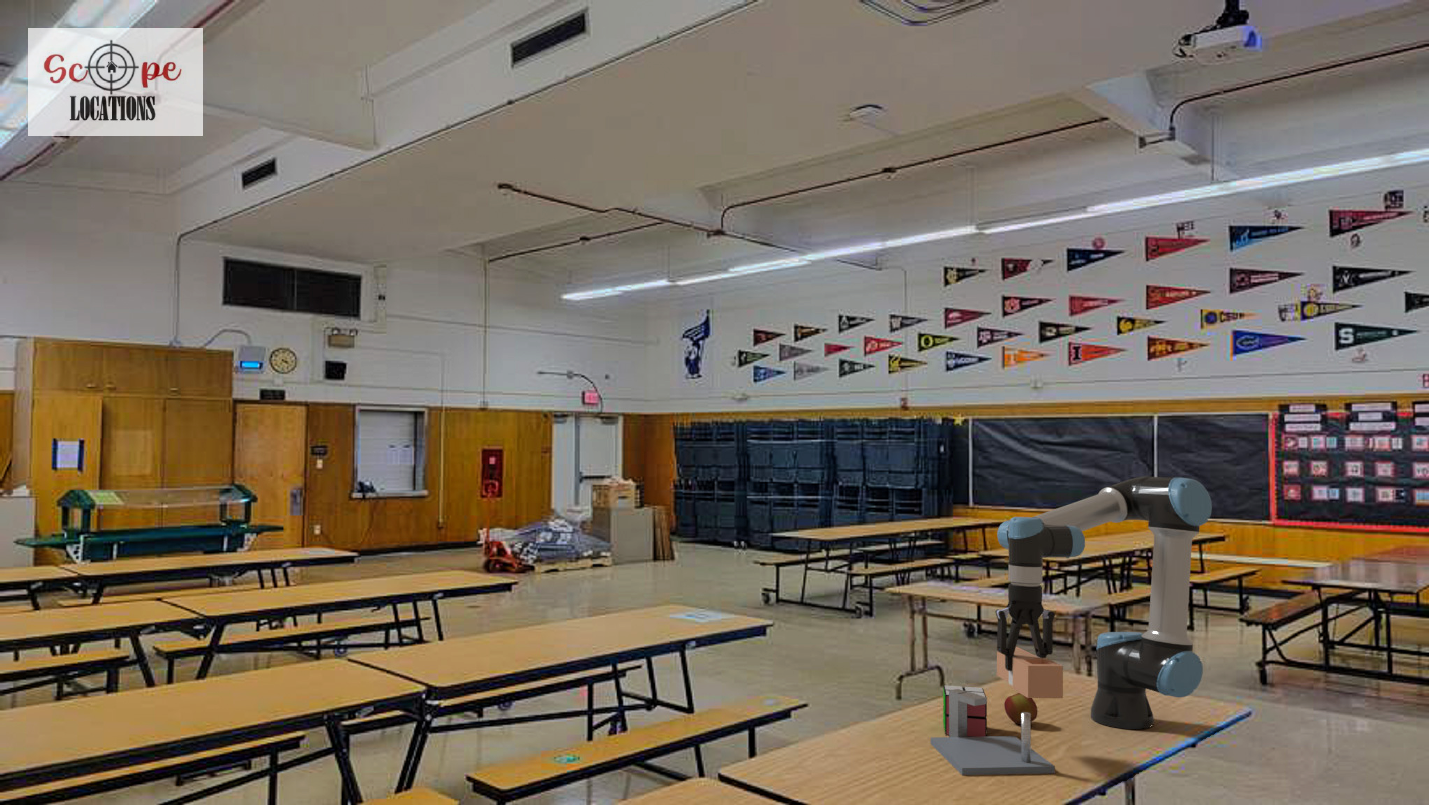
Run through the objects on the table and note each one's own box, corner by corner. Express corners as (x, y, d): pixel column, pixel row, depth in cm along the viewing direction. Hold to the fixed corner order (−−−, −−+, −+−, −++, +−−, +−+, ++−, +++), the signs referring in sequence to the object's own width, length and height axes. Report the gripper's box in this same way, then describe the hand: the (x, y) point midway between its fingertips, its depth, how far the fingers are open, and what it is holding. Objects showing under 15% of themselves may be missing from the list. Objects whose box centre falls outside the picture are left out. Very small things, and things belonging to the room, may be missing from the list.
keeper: (959, 738, 221) (959, 688, 222) (987, 749, 213) (986, 697, 214) (947, 740, 219) (947, 690, 220) (974, 751, 212) (974, 699, 212)
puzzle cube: (987, 739, 221) (986, 697, 222) (945, 736, 223) (945, 695, 224) (983, 726, 231) (983, 687, 232) (943, 724, 233) (943, 684, 234)
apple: (1023, 718, 239) (1023, 687, 239) (1043, 727, 231) (1043, 695, 231) (998, 720, 236) (998, 689, 237) (1018, 730, 229) (1018, 698, 229)
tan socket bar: (990, 675, 218) (991, 646, 219) (1022, 675, 219) (1022, 646, 219) (1027, 698, 198) (1028, 665, 198) (1062, 698, 199) (1062, 666, 199)
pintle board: (1014, 742, 219) (1014, 736, 219) (1054, 773, 198) (1054, 766, 198) (930, 743, 217) (930, 737, 217) (962, 775, 196) (962, 768, 196)
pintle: (1028, 766, 202) (1028, 712, 202) (1032, 769, 200) (1031, 714, 200) (1019, 766, 202) (1019, 712, 202) (1023, 769, 200) (1023, 714, 200)
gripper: (1054, 582, 215) (1054, 681, 213) (981, 580, 213) (980, 680, 212) (1070, 586, 207) (1069, 689, 206) (994, 585, 206) (993, 689, 204)
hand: (1024, 684), depth 209 cm, fingers closed on tan socket bar, 5 cm apart
